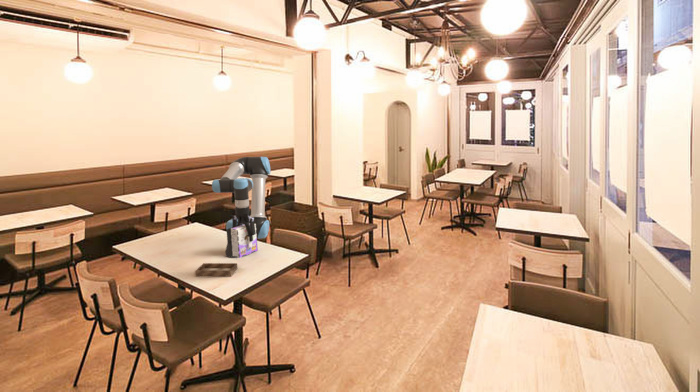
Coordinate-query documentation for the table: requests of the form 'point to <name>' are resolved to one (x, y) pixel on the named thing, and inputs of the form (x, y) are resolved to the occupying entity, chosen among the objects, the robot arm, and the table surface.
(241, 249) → the candy box
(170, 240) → the table surface
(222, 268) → the wooden picture frame
